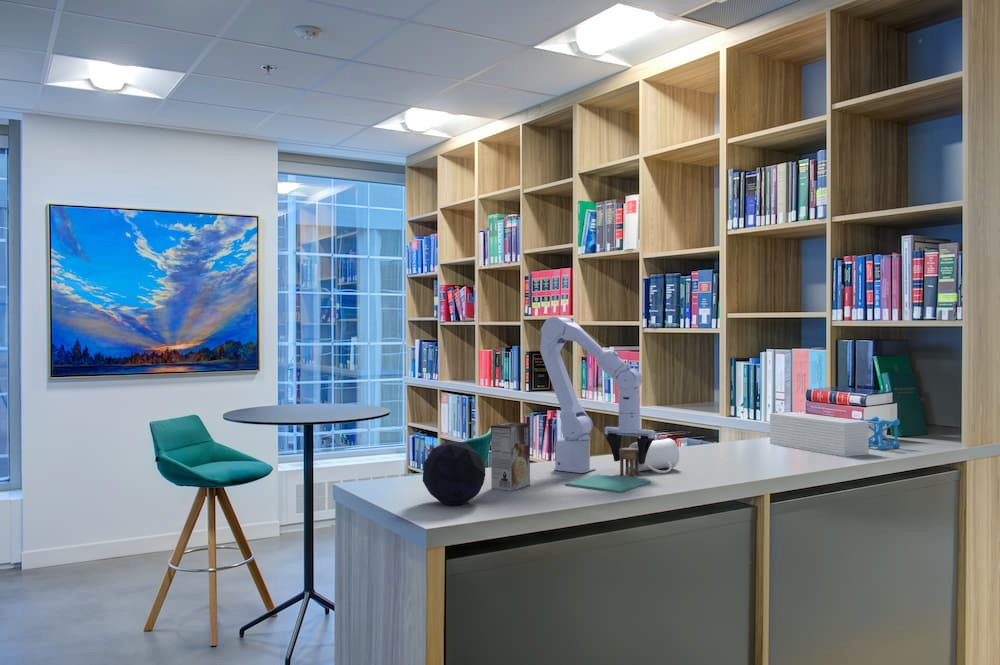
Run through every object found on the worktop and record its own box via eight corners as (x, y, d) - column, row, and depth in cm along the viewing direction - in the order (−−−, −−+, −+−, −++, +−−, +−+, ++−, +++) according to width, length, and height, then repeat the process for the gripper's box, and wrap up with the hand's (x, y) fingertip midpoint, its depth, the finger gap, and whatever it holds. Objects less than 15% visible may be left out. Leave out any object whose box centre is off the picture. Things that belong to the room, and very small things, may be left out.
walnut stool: (615, 475, 216) (615, 449, 216) (625, 472, 221) (625, 447, 221) (633, 477, 213) (633, 451, 213) (642, 474, 217) (642, 448, 217)
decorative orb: (401, 478, 184) (425, 430, 177) (449, 470, 194) (474, 425, 188) (432, 524, 176) (459, 475, 169) (481, 512, 186) (508, 467, 180)
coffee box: (509, 482, 206) (509, 421, 206) (530, 485, 203) (530, 422, 203) (490, 488, 198) (490, 425, 198) (512, 491, 195) (512, 426, 195)
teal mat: (565, 485, 202) (565, 483, 202) (597, 476, 215) (597, 474, 215) (620, 492, 193) (620, 490, 193) (650, 482, 205) (650, 480, 205)
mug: (689, 460, 220) (654, 465, 215) (678, 482, 225) (644, 487, 219) (667, 432, 228) (633, 435, 223) (657, 453, 233) (623, 457, 228)
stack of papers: (769, 444, 276) (769, 413, 276) (792, 442, 280) (792, 412, 280) (844, 457, 247) (844, 422, 247) (868, 454, 251) (868, 421, 251)
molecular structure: (882, 451, 258) (882, 420, 258) (855, 447, 267) (855, 417, 267) (901, 448, 263) (901, 418, 263) (874, 444, 272) (874, 415, 272)
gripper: (659, 413, 216) (660, 462, 216) (613, 410, 225) (613, 457, 225) (647, 415, 210) (648, 466, 210) (600, 412, 219) (600, 461, 219)
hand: (629, 462), depth 217 cm, fingers open, 7 cm apart
